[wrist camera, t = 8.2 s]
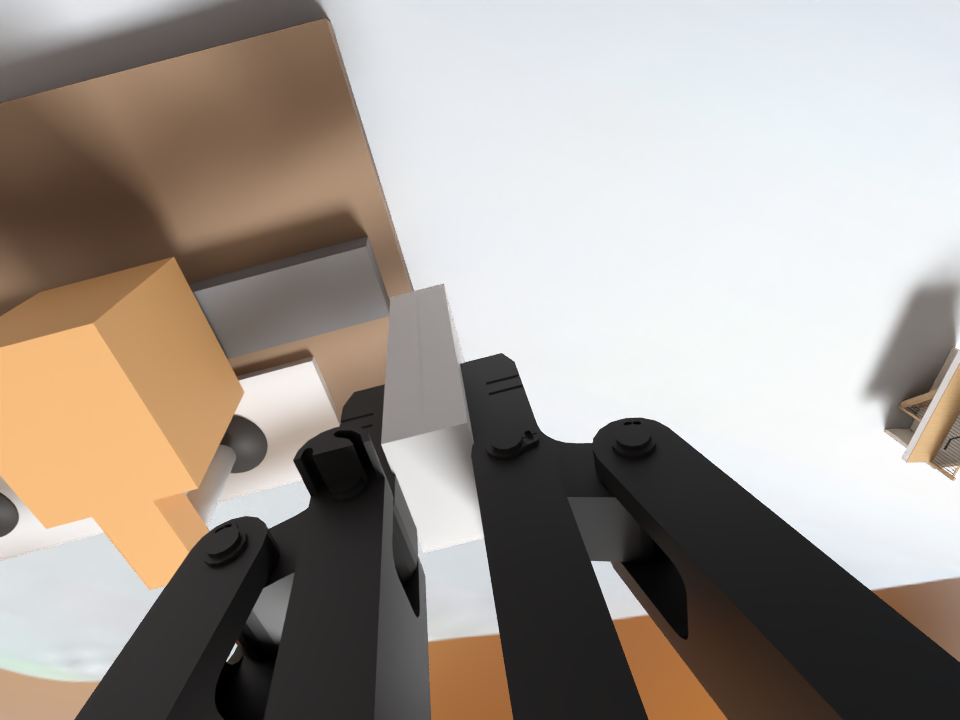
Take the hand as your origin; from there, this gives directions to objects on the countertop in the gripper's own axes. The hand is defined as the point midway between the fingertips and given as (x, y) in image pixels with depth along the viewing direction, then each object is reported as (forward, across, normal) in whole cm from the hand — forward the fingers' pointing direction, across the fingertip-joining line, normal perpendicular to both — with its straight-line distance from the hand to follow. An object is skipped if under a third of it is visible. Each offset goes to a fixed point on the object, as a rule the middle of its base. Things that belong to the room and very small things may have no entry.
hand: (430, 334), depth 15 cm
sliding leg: (+7, -11, -2) cm, 13 cm away
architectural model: (+11, +26, -16) cm, 32 cm away
